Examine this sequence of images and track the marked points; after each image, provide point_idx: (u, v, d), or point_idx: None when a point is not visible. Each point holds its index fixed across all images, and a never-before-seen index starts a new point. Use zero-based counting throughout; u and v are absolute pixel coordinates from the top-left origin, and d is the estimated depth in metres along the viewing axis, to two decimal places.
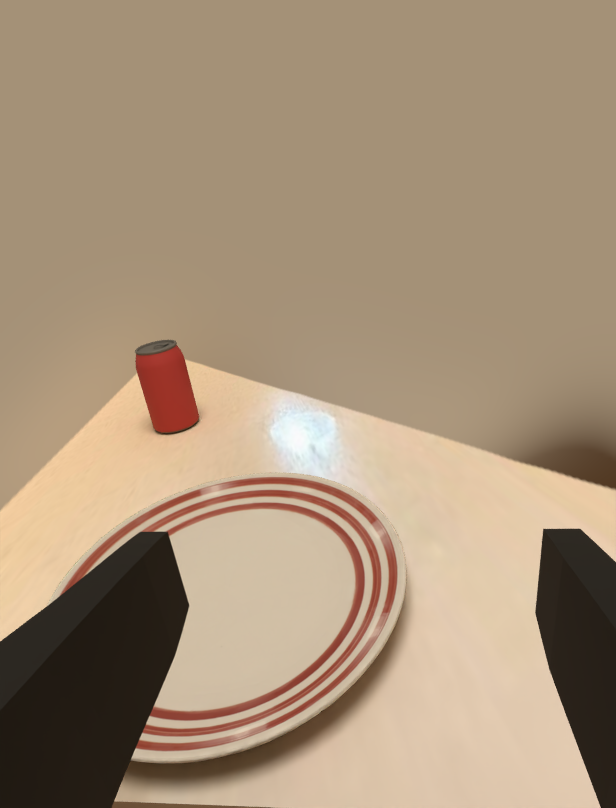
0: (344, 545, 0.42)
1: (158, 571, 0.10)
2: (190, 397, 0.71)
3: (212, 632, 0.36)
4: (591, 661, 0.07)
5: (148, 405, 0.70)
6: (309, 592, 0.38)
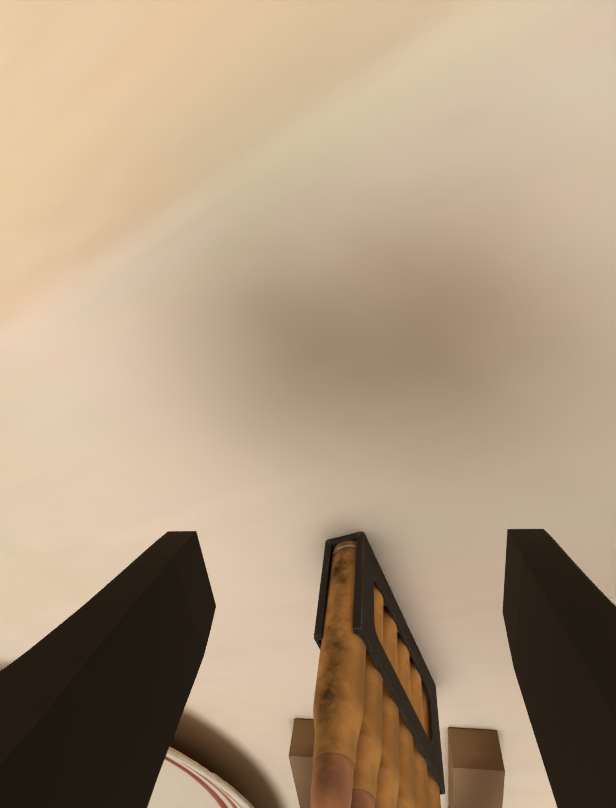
0: None
1: (188, 571, 0.09)
2: None
3: None
4: (546, 659, 0.07)
5: None
6: None
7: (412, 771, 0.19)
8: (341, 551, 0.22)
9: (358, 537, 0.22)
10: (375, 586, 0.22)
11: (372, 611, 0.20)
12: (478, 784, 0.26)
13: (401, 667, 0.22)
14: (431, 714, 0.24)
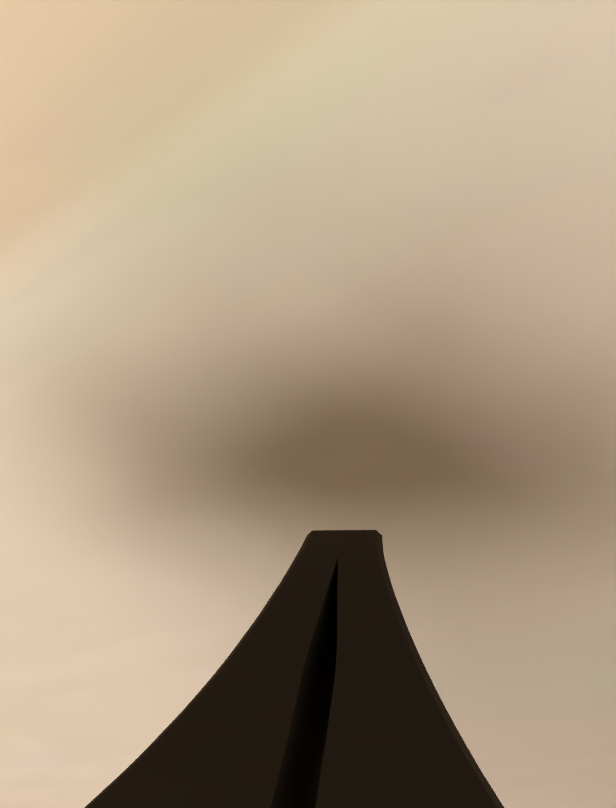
0: None
1: None
2: None
3: None
4: None
5: None
6: None
7: None
8: None
9: None
10: None
11: None
12: None
13: None
14: None
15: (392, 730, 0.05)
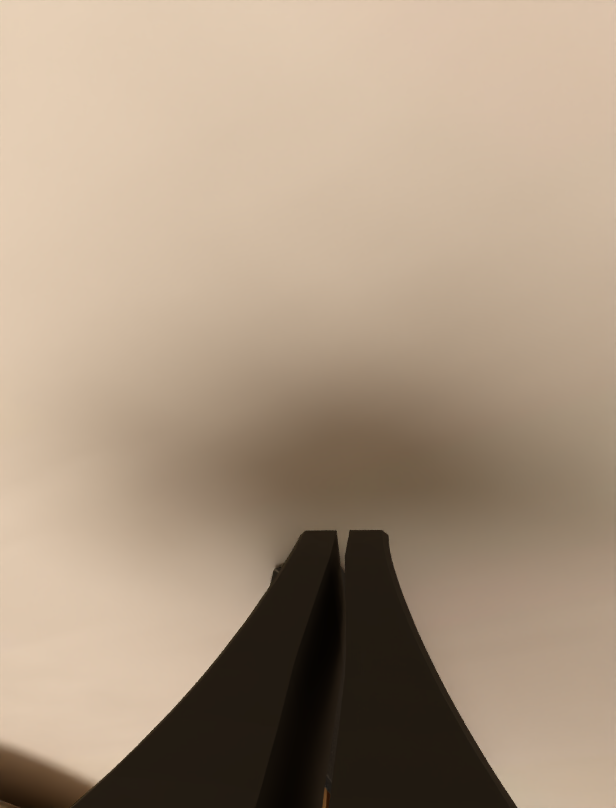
0: None
1: (335, 572, 0.09)
2: None
3: None
4: None
5: None
6: None
7: None
8: None
9: None
10: None
11: None
12: None
13: None
14: None
15: (403, 730, 0.05)
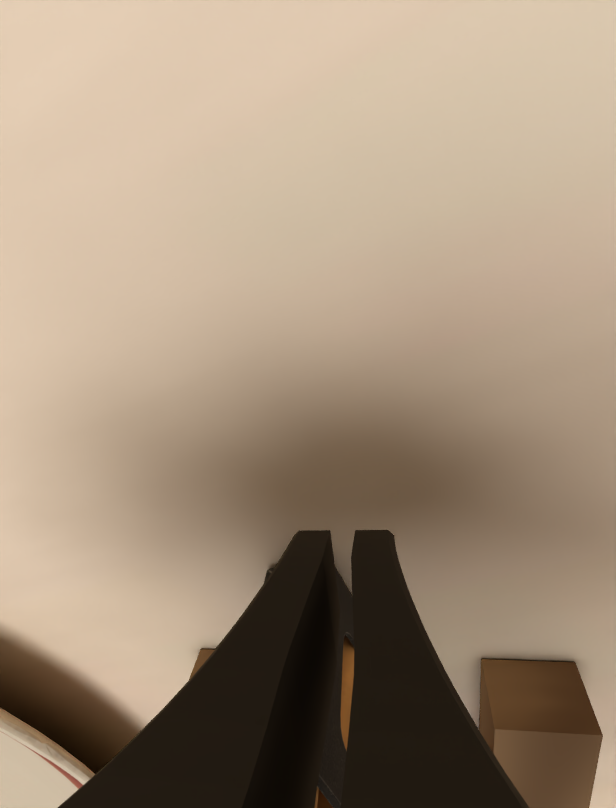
0: None
1: (328, 572, 0.09)
2: None
3: None
4: None
5: None
6: None
7: None
8: None
9: None
10: (349, 644, 0.13)
11: (336, 701, 0.11)
12: (544, 764, 0.13)
13: None
14: None
15: (414, 731, 0.05)
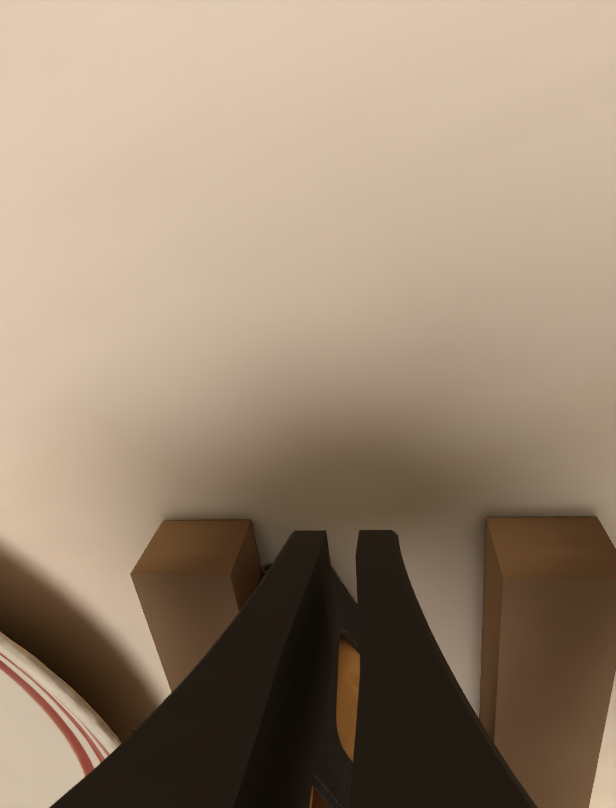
0: None
1: (324, 572, 0.09)
2: None
3: None
4: None
5: None
6: None
7: None
8: None
9: None
10: (347, 641, 0.13)
11: (332, 699, 0.11)
12: (561, 624, 0.11)
13: None
14: None
15: (421, 732, 0.05)
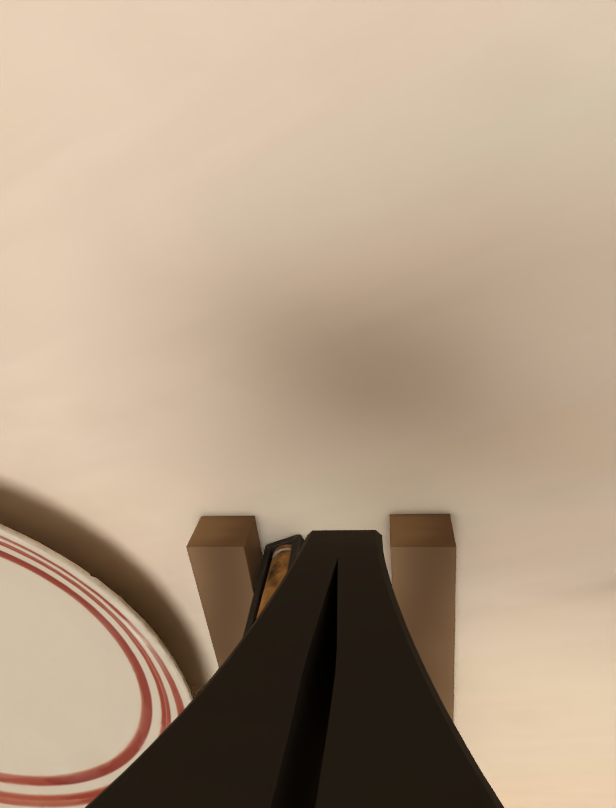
0: None
1: None
2: None
3: (39, 671, 0.29)
4: None
5: None
6: None
7: None
8: (278, 555, 0.23)
9: (295, 539, 0.23)
10: None
11: None
12: (423, 572, 0.20)
13: None
14: None
15: (392, 730, 0.05)
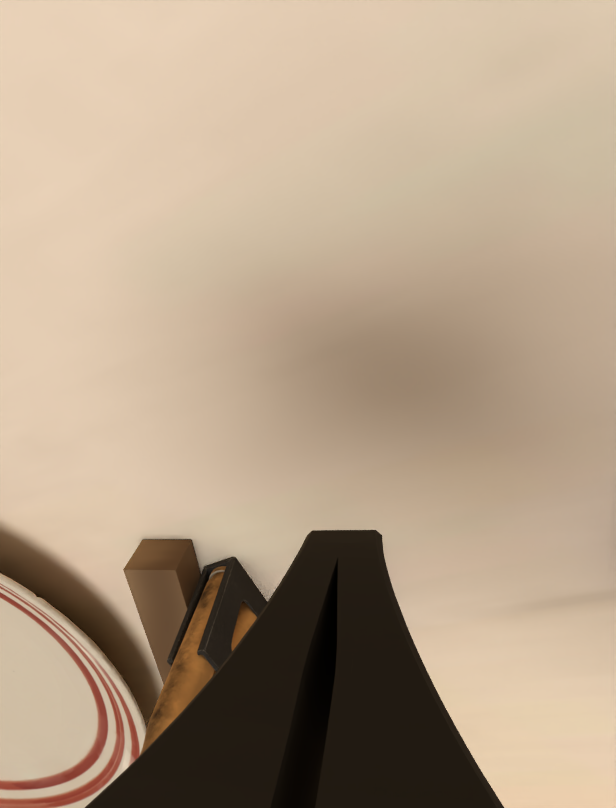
0: None
1: None
2: None
3: (2, 682, 0.30)
4: None
5: None
6: None
7: None
8: (213, 576, 0.24)
9: (229, 562, 0.24)
10: (248, 607, 0.24)
11: (230, 632, 0.22)
12: None
13: None
14: None
15: (392, 730, 0.05)
